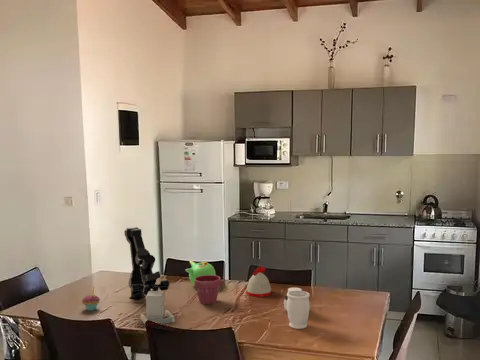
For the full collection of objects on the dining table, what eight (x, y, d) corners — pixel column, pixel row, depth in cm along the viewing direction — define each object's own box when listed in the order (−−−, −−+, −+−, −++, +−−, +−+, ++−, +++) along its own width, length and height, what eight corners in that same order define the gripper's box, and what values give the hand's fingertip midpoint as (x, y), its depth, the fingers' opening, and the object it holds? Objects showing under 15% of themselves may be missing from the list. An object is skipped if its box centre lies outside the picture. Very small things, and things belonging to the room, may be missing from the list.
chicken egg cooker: (276, 293, 261) (276, 267, 260) (256, 298, 254) (256, 271, 253) (261, 287, 273) (261, 262, 272) (241, 292, 265) (241, 266, 264)
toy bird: (214, 290, 269) (214, 265, 268) (185, 290, 269) (185, 265, 269) (216, 281, 287) (216, 257, 286) (189, 281, 287) (188, 258, 286)
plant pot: (199, 296, 257) (198, 273, 257) (223, 298, 254) (223, 275, 254) (191, 305, 243) (190, 281, 243) (217, 306, 241) (216, 282, 240)
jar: (284, 321, 218) (284, 290, 217) (306, 321, 219) (306, 289, 218) (289, 330, 208) (289, 297, 207) (311, 329, 209) (311, 296, 208)
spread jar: (290, 316, 225) (290, 293, 225) (278, 309, 235) (278, 287, 235) (310, 312, 231) (310, 289, 230) (297, 305, 241) (297, 283, 240)
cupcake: (103, 307, 241) (102, 284, 240) (92, 312, 233) (92, 289, 232) (89, 305, 244) (88, 283, 243) (78, 311, 236) (78, 287, 235)
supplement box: (161, 321, 220) (161, 296, 218) (146, 321, 220) (145, 296, 218) (164, 315, 227) (163, 290, 226) (149, 315, 227) (148, 290, 226)
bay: (140, 319, 224) (140, 314, 224) (167, 314, 230) (167, 310, 230) (146, 326, 214) (146, 322, 214) (174, 321, 220) (174, 317, 220)
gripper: (131, 268, 226) (137, 296, 217) (168, 264, 235) (175, 291, 225) (128, 280, 234) (133, 308, 225) (163, 276, 242) (170, 302, 233)
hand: (153, 302), depth 227 cm, fingers closed
